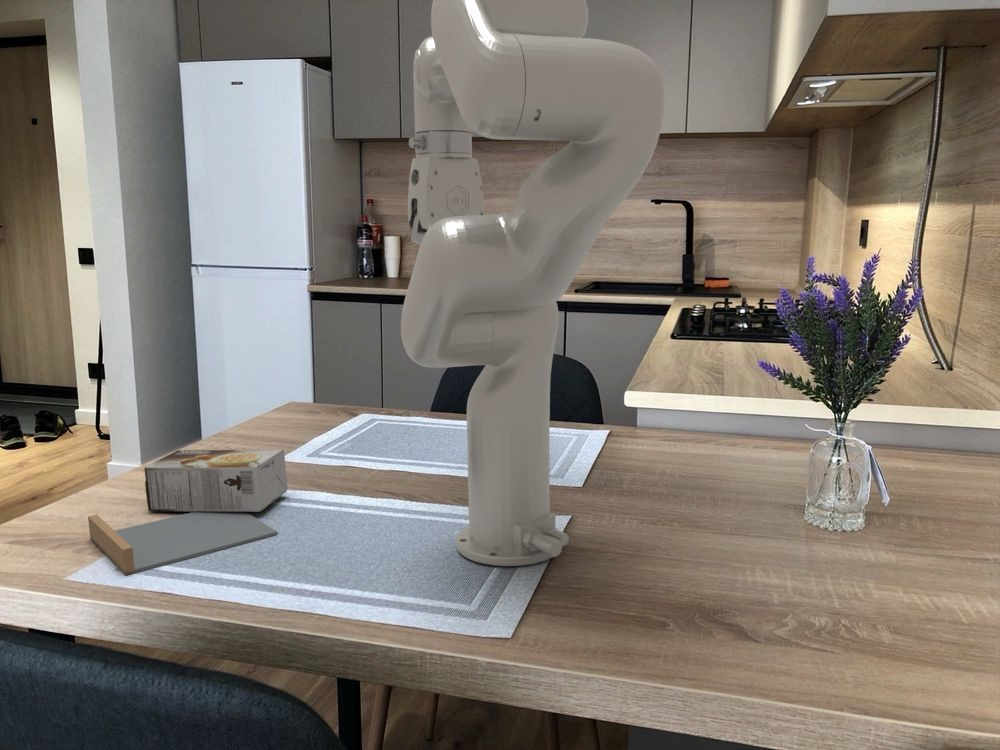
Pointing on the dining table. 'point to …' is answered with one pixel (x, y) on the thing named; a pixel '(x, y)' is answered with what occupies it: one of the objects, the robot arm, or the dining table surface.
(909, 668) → the dining table surface
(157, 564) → the board
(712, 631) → the dining table surface
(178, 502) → the food box
